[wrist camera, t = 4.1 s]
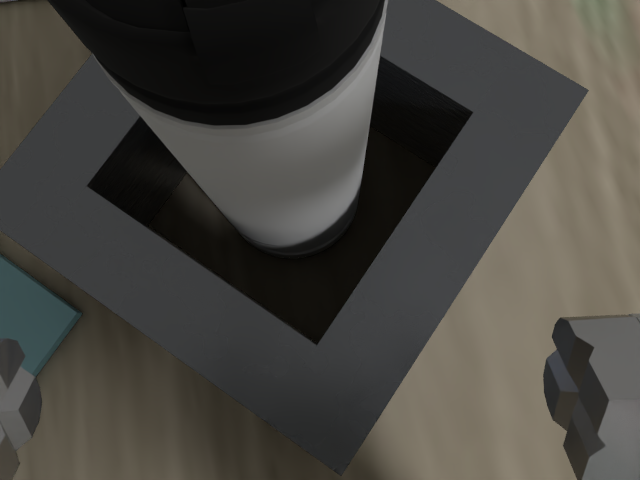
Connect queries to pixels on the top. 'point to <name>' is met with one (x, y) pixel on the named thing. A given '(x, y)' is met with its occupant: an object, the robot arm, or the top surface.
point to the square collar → (380, 279)
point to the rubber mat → (32, 315)
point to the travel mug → (251, 102)
